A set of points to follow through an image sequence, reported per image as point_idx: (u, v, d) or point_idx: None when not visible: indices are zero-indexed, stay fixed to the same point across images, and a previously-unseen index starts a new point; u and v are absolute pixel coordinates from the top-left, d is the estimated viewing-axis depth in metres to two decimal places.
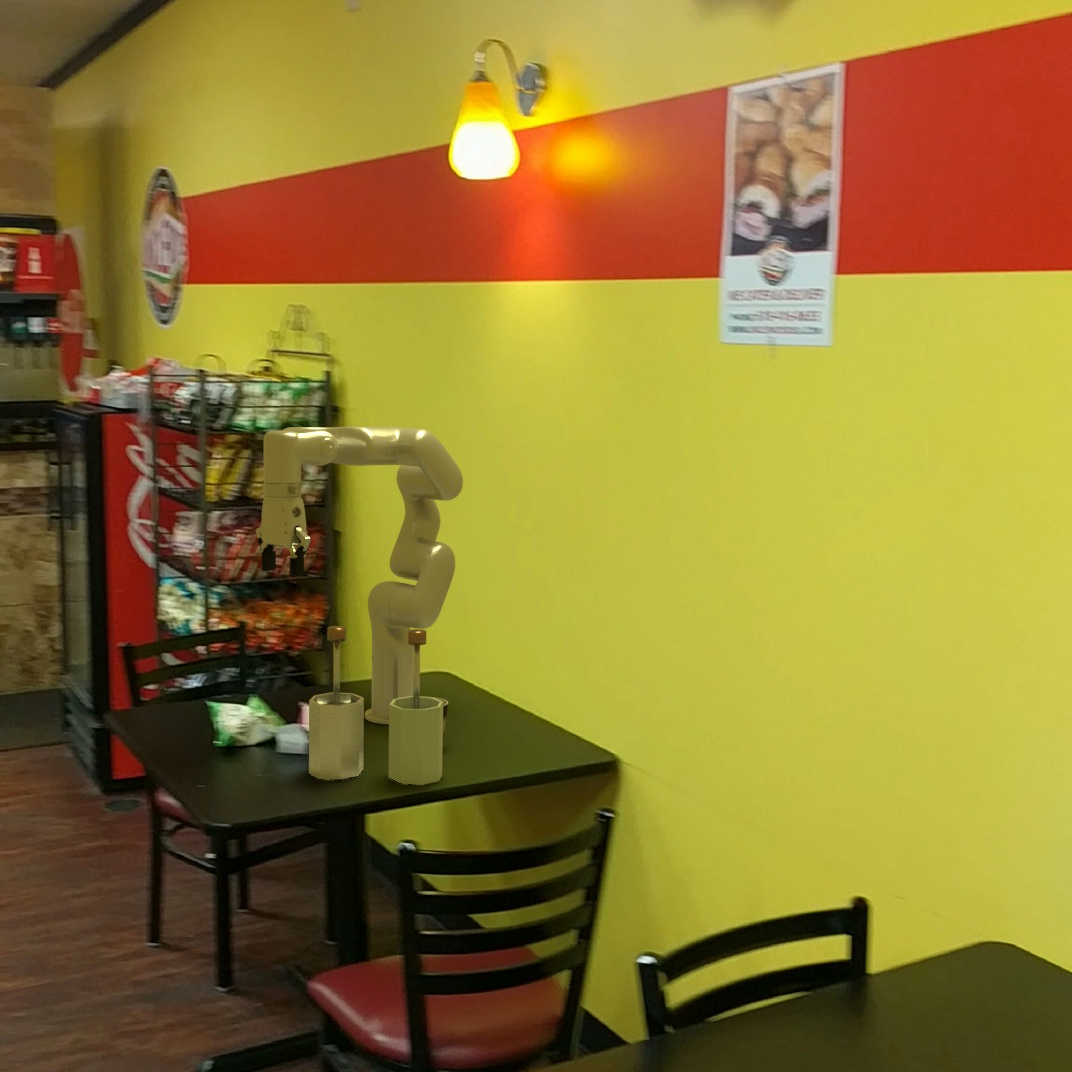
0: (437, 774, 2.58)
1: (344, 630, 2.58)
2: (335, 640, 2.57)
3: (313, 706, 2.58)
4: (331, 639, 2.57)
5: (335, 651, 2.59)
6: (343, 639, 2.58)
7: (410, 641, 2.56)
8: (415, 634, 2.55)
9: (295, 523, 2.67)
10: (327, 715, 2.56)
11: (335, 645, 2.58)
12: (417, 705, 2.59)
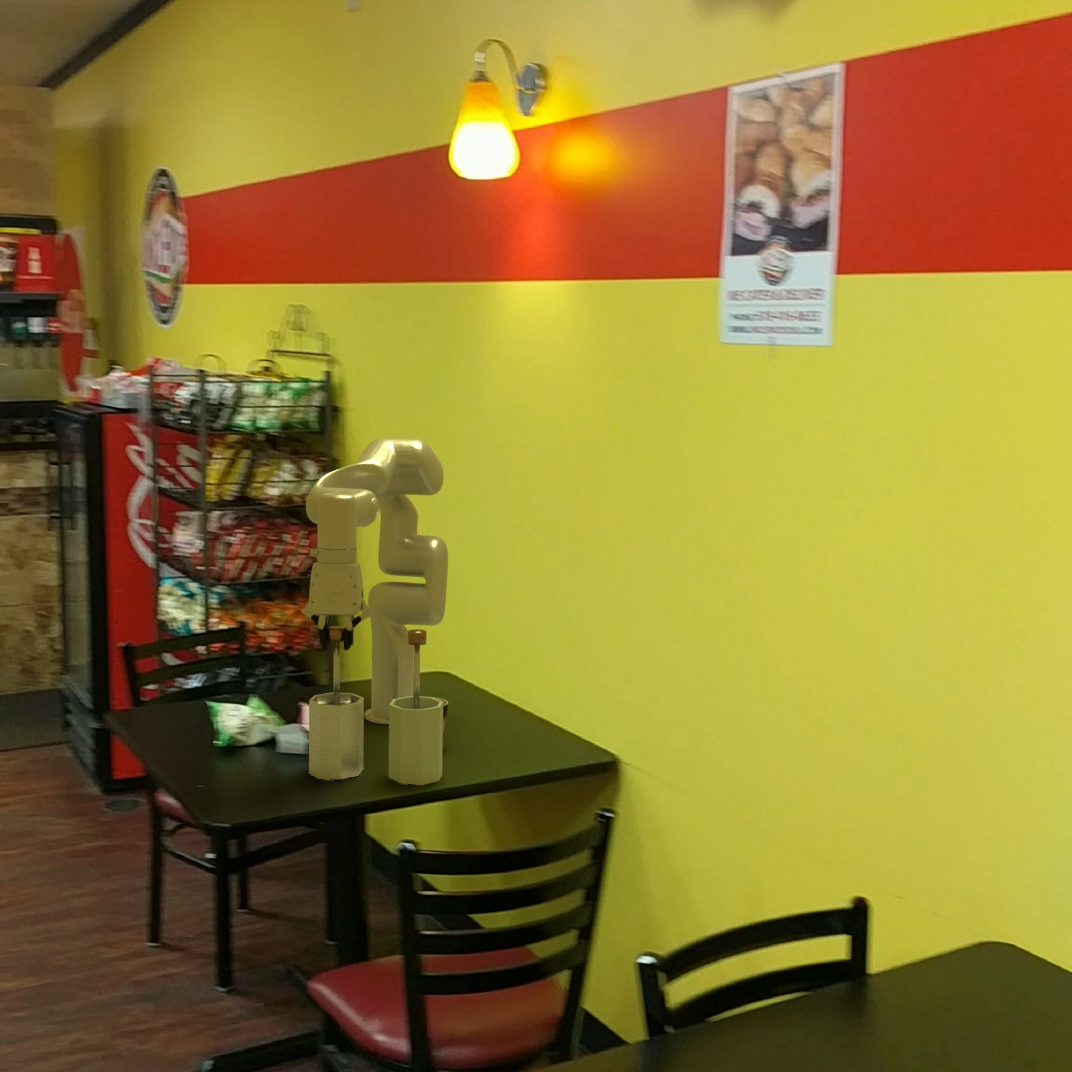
0: (437, 774, 2.58)
1: (344, 630, 2.58)
2: (335, 640, 2.57)
3: (313, 706, 2.58)
4: (331, 639, 2.57)
5: (335, 651, 2.59)
6: (343, 639, 2.58)
7: (410, 641, 2.56)
8: (415, 634, 2.55)
9: None
10: (327, 715, 2.56)
11: (335, 645, 2.58)
12: (417, 705, 2.59)
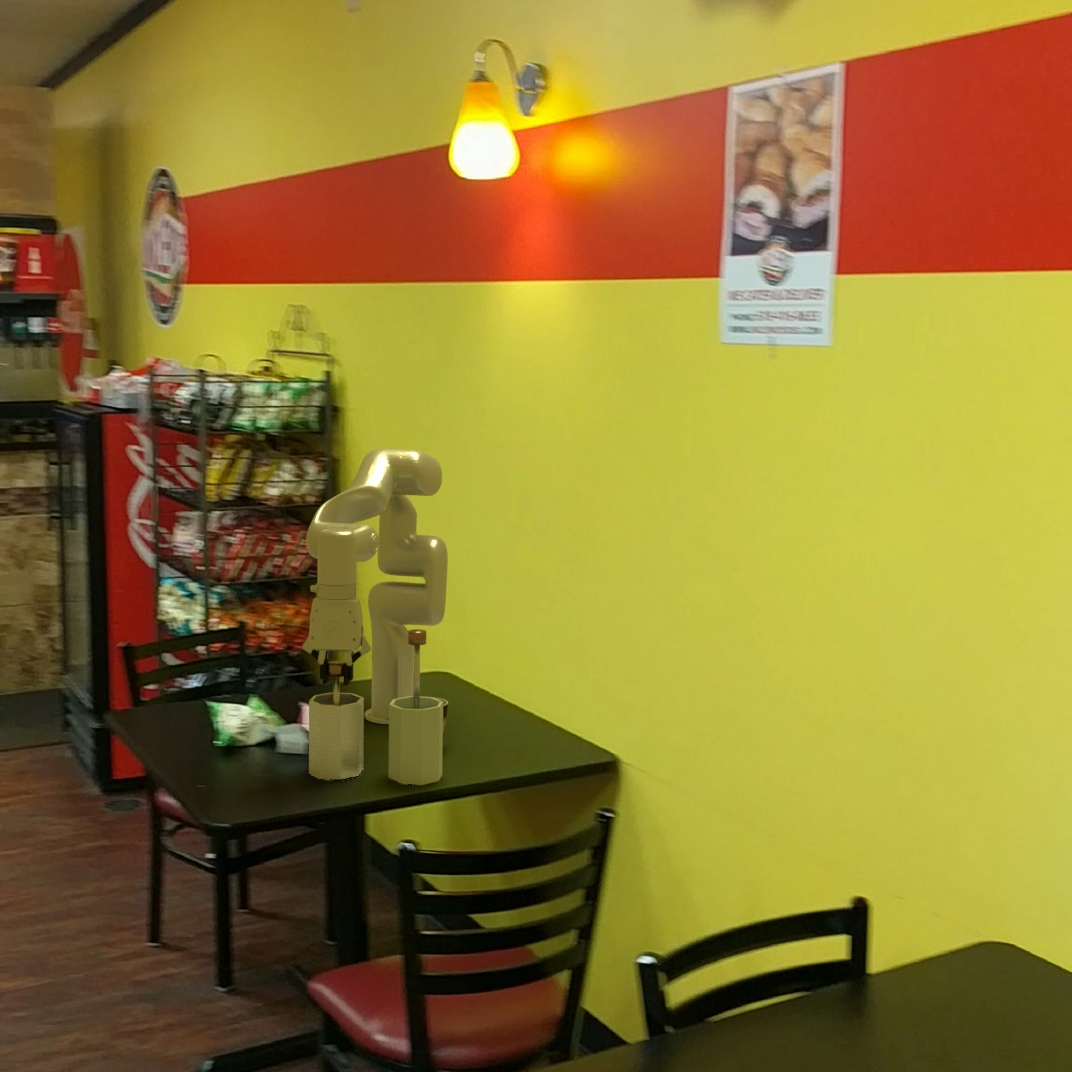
0: (437, 774, 2.58)
1: (344, 665, 2.59)
2: (335, 675, 2.58)
3: (313, 706, 2.58)
4: (331, 674, 2.58)
5: (335, 686, 2.60)
6: (343, 674, 2.59)
7: (410, 641, 2.56)
8: (415, 634, 2.55)
9: None
10: (327, 715, 2.56)
11: (335, 680, 2.59)
12: (417, 705, 2.59)
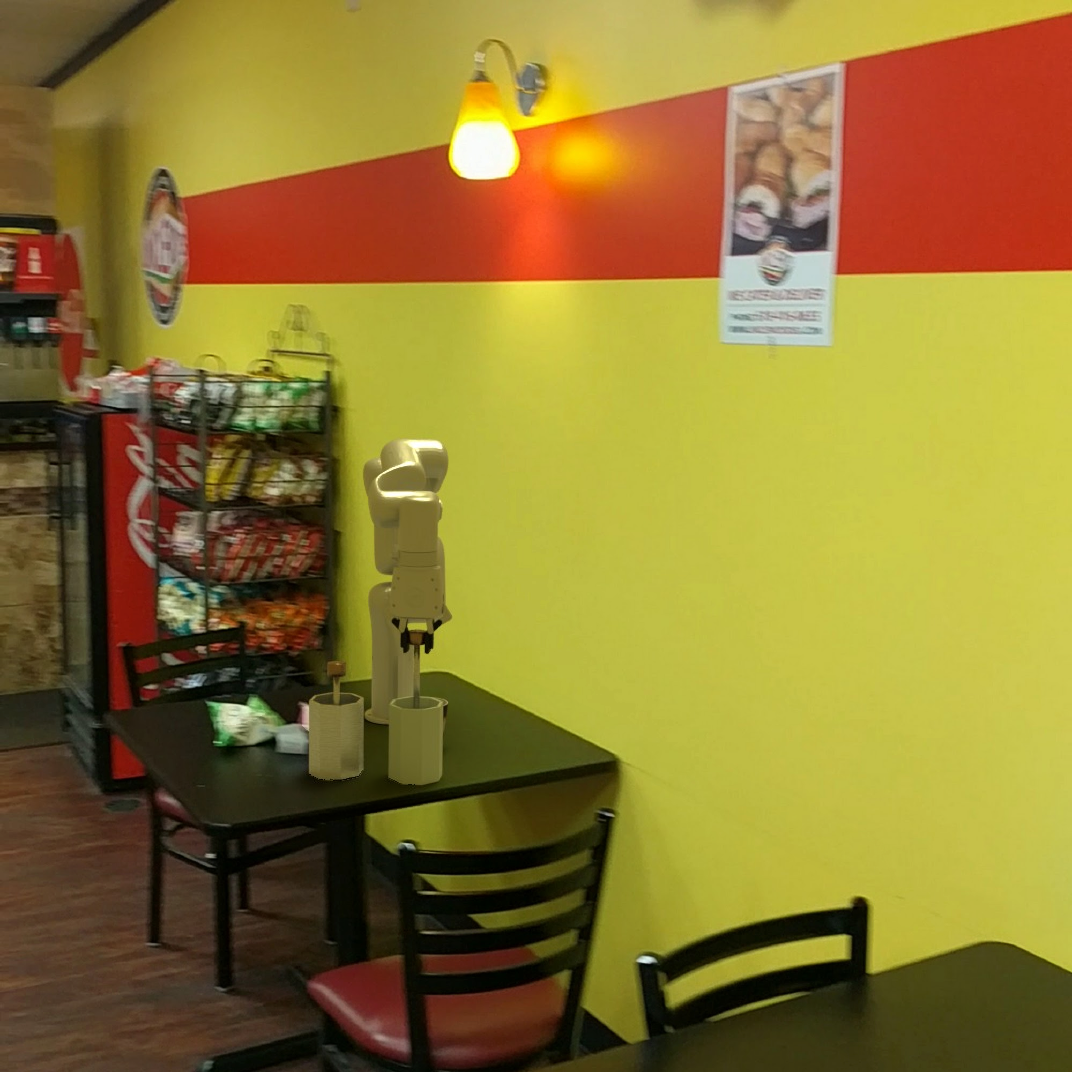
0: (437, 774, 2.58)
1: (344, 665, 2.59)
2: (335, 675, 2.58)
3: (313, 706, 2.58)
4: (331, 674, 2.58)
5: (335, 686, 2.60)
6: (343, 674, 2.59)
7: (410, 641, 2.56)
8: (415, 634, 2.55)
9: None
10: (327, 715, 2.56)
11: (335, 680, 2.59)
12: (417, 705, 2.59)
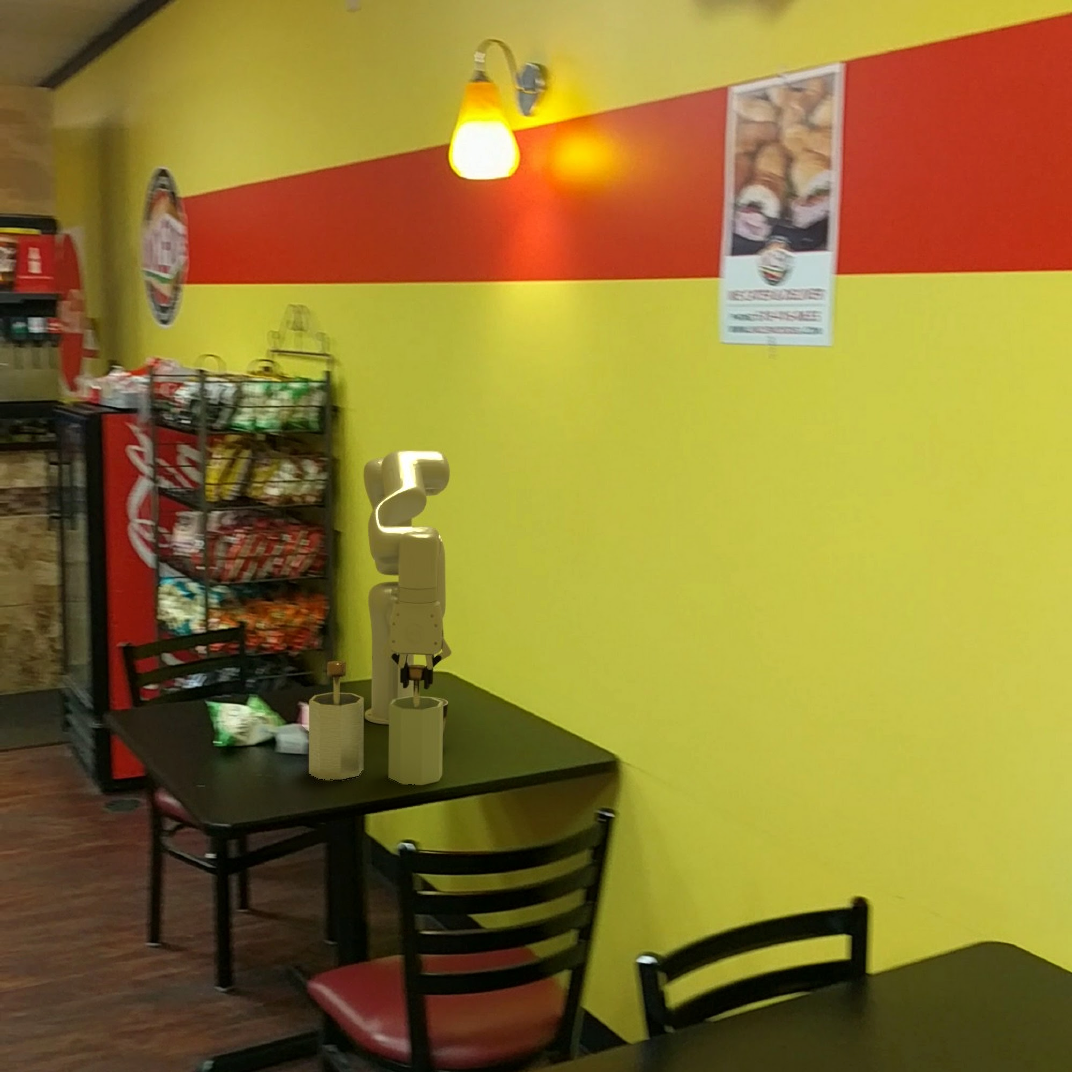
0: (437, 774, 2.58)
1: (344, 665, 2.59)
2: (335, 675, 2.58)
3: (313, 706, 2.58)
4: (331, 674, 2.58)
5: (335, 686, 2.60)
6: (343, 674, 2.59)
7: (410, 677, 2.57)
8: (415, 670, 2.56)
9: None
10: (327, 715, 2.56)
11: (335, 680, 2.59)
12: None
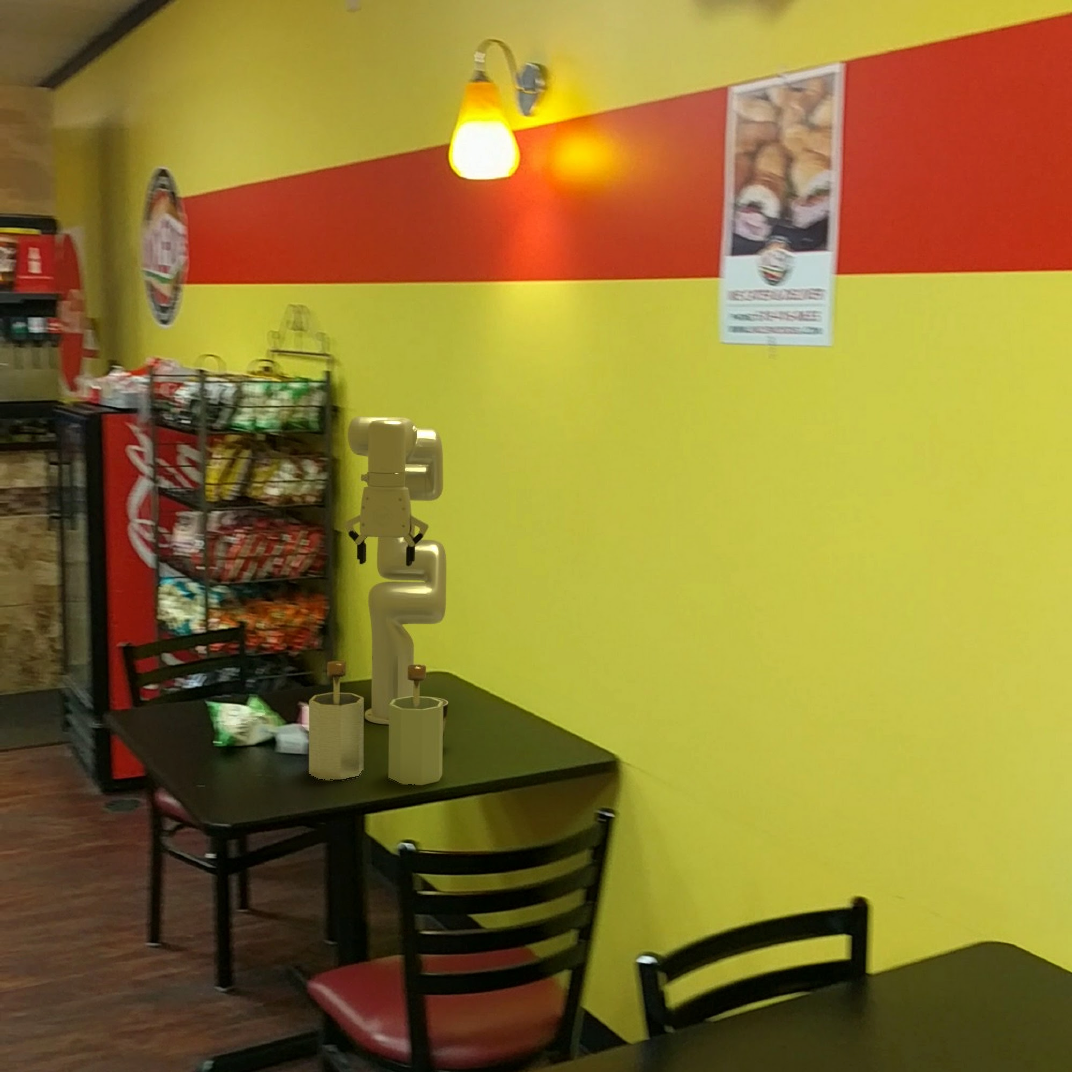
0: (437, 774, 2.58)
1: (344, 665, 2.59)
2: (335, 675, 2.58)
3: (313, 706, 2.58)
4: (331, 674, 2.58)
5: (335, 686, 2.60)
6: (343, 674, 2.59)
7: (410, 677, 2.57)
8: (415, 670, 2.56)
9: None
10: (327, 715, 2.56)
11: (335, 680, 2.59)
12: None
